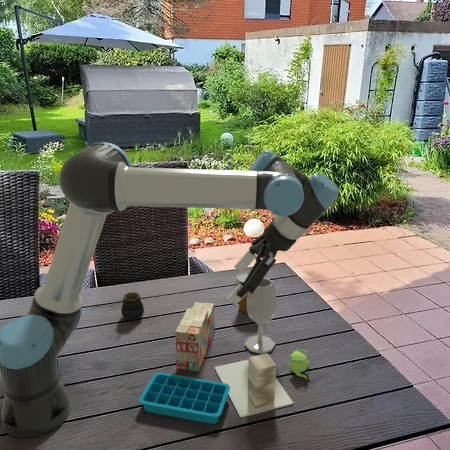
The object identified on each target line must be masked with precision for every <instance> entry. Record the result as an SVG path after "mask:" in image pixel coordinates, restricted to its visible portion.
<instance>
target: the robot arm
mask: <svg viewBox="0 0 450 450" xmlns="http://www.w3.org/2000/svg"><path fill="white" fill-rule="evenodd" d="M58 182H59V187H60V190H61V192H62V194H63V195H64V197H65V199H67V201H68V203H69V204H68V208H67V210H66V211H67V212H66V215H65V217H64V220H63V224H62V227H61V230H60V234H59V237H58V240H57V242H56V247H55V249H54V253H53V256H52V259H51V263H50V265H49V267H48V268H49V269H48V272H47V275H46V278H45V282H44V285H41V286H40V287H38V288H37V289H35V291H34V295H33V298H32V301H31V305H30V306H29V307H30V308H29V310H28V312H27V314H26V315H22V316H19V317H17V318H16V319H15V320H11V321H9V322H8V323H6V324H5V325H4V326H3V327H2V328H1V329H0V375H1V380H2V385H3V386H2V387H3V391H4V397H3V398H4V399H3V402H2V406H1V412H0V421H1V426H2V429H3V430H4V431H3V432H5V433H6V434H7V435H9V436H11V437H13V438H17V439H30V438H32V439H33V438H37V437H41V436H43V435H46V434H47V433H50V432H52V431H54V430H55V429H56V428H58V427H60V426H61V424H63V423H64V421H66V419H67V418H68V416H69V415H70V412H71V410H72V409H71V408H72V407H71V406H72V403H71V398H70V394H69V393H68V391H67V390H66V388H65V386H64V384H63V383H62V381H61V380H60V375H59V368H58V362H57V361H58V357H59V356H60V353H61V352H62V350H63V348H64V347H65V346H66V343H67V342H68V340H69V339H70V337H71V336H72V334H73V332H74V331H75V329H76V328H77V327H78V325H79V323H80V320H81V317H82V307H83V304H84V303H83V301H84V300H83V298H82V296H81V295H80V294H81V291H82V287H83V284H84V281H85V279H86V276H87V273H88V270H89V268H90V265H91V261H92V258H93V256H94V253H95V250H96V247H97V244H98V242H99V238H100V235H101V233H102V229H103V226H104V224H105V221H106V218H107V215H109V214H111V213H114V212H115V211H116V212H124V210H126V208H128V207H150V208H152V207H154V208H155V207H156V208H158V207H159V208H195V209H227V210H228V209H229V210H231V209H232V210H233V209H234V210H235V209H236V210H264V211H266V210H267V211H269V212H270V213H271V214H273V215H275V216H274V219H272V220H271V222H270V223H268V225H267V226H266V227H265V228H264V229H263V233H262V234H261V235H259V236H257V237H256V238H255V239H254V240H252V241H251V243H250V247H249V249H248V250H247V251H246V252H245V253H244V254H243V255H242V257H240V259H239V260H238V261H237V262H236V264H235V265H234V269H236V270H237V271H239V273H242V272H245V270H246V269H248V267H249V266H250V265H251V263H253V262H254V260H255V263H254V264H253V266H252V268H251V269H250V271H249V272H250V273H249V274H248V276H247V278H246V279H245V281H244V282H243V281H242V282H240V285H239V286H238V287H237V286H236V288H235V289H234V290H232V292H231V293H230V294H229V295H228V296H227V299H226V300H227V301H228V302H231V304H233V305H235V306H237V305H239V302H240V300H241V299H242V298H243V297H244V296H245V295H246V294H247V293H248V292H250V293H251V294H253V293H254V291H255V290H256V288H257V287H258V285H259V284H260V282H261V281H262V279H263V278H266V277H265V276H266V275H267V274H268V272H269V270H270V269H271V268H272V267H273V266H274V265H275V263H276V262H277V259H276V258H275V257H276V256H277V254H278V252H287V251H289V250H290V249H291V248H292V246H294V245H295V244H296V243H297V240H299V239H300V238H301V237H302V236H303V235H304V234H305V233H308V232H309V229H310V228H311V227H312V226H313V224H314V223H316V221H317V220H318V219H320V217H322V215H323V214H324V213H326V211H328V210H329V209H330V207H331V206H332V205H333V204H334V202H335V201H336V200H337V198H338V197H339V188H338V186H337V185H336V184H335V183H334V181H332V179H331V178H329V177H328V176H327V175H326V174H322V173H321V172H315V173H313V174H312V175H309V176H308V175H305V174H304V173H302V172H301V171H299V170H298V169H297V168H295V167H294V166H292V165H291V164H290V163H289V162H287V161H286V160H285V159H283V158H282V157H281V156H280V155H278V154H276V153H274V152H273V151H271V150H269V149H265V150H263V151H262V152H260V153H259V155H258V156H257V157H256V159H254V161H253V163H252V164H251V166H250V167H249V170H242V169H241V170H240V169H239V170H236V169H235V170H233V169H204V168H203V169H201V168H167V167H166V168H165V167H162V168H161V167H135V166H134V167H132V164H131V161H130V158H129V156H128V155H127V153H126V152H125V150H123V149H122V148H120V147H119V146H118V145H116V144H115V143H111V142H106V141H104V142H103V141H102V142H95V143H91V144H89V145H88V146H86V147H85V148H84V149H82V150H80V151H79V152H77V153H75V154H73V155H71V156H69V157H68V158H67V159H66V160H65V161H64V163H63V165H61V168H60V171H59V175H58Z"/></svg>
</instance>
